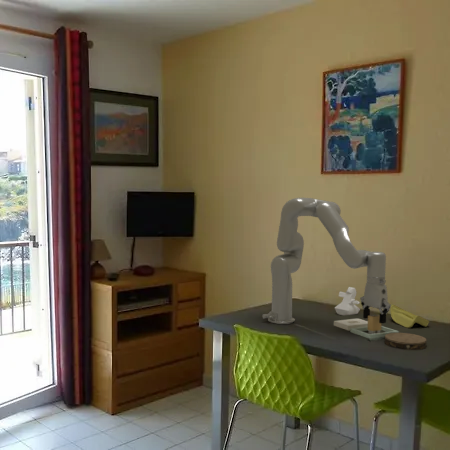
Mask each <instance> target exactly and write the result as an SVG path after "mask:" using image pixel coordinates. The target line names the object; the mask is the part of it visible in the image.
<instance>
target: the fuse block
mask: <svg viewBox="0 0 450 450" xmlns="http://www.w3.org/2000/svg"><path fill="white" fill-rule="evenodd" d="M367 326H368V320H364V319H361V318H359V317H358V318H350V319H341V320H340V319H339V320H333V327H337V328H339V329H343V330H345V331H350V330H351V328H359V327H367Z"/></svg>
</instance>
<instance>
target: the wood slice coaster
mask: <svg viewBox="0 0 450 450" xmlns="http://www.w3.org/2000/svg"><path fill="white" fill-rule="evenodd" d="M384 344H385V345H387V346H388V347H391V348H394V349H400V350H408V351H417V350H423V349H426V348H427V338H426V337H424V336H422V335H418V334H414V333H408V332H399V333H389V334H386V335H385V339H384Z"/></svg>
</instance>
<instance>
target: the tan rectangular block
mask: <svg viewBox="0 0 450 450" xmlns="http://www.w3.org/2000/svg"><path fill="white" fill-rule="evenodd" d="M379 315H380V314H370V316H368V318H367V321H368V330H369V331H368V332H367V333H368V334H376V333H381V331H382V330H381V327H382V326H383V325H382V324H383V323H379Z"/></svg>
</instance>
